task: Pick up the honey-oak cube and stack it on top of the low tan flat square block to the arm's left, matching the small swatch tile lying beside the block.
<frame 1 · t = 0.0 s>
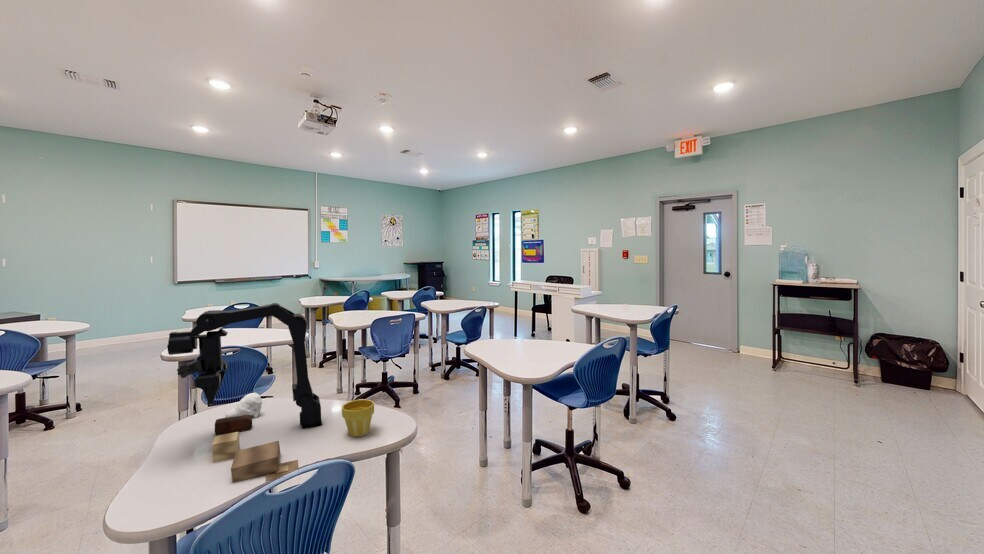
hand: (213, 398, 128), 15 cm above the table, tool pointing down, fingers open, 9 cm apart
oak cube: (227, 457, 121), on the table
brick: (234, 431, 137), on the table
plant pot: (358, 432, 136), on the table
white lumpy chunk: (243, 419, 147), on the table
tan flat square block: (258, 467, 114), point 1 cm above the table, touching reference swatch
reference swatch: (282, 471, 112), on the table
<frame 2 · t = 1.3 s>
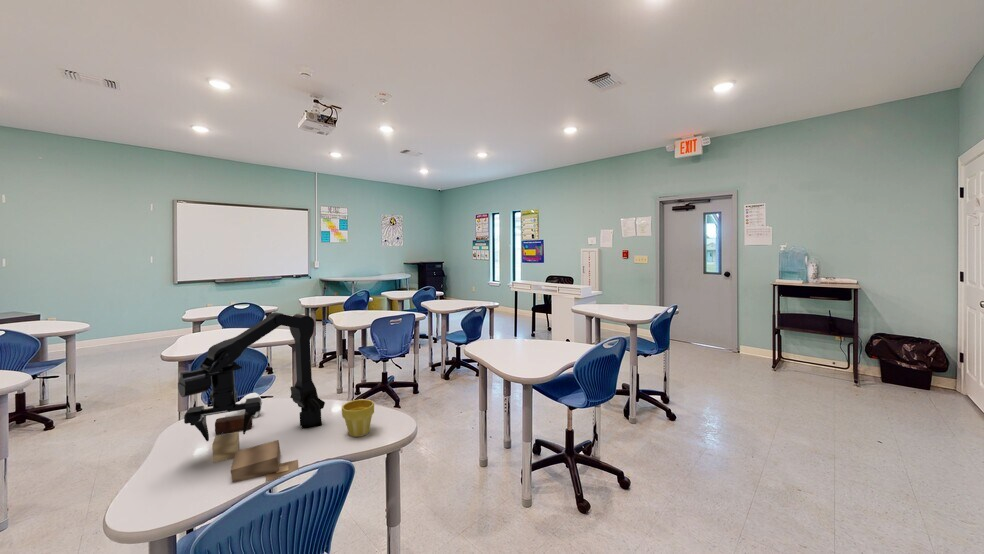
hand: (226, 437, 120), 6 cm above the table, tool pointing down, fingers open, 9 cm apart
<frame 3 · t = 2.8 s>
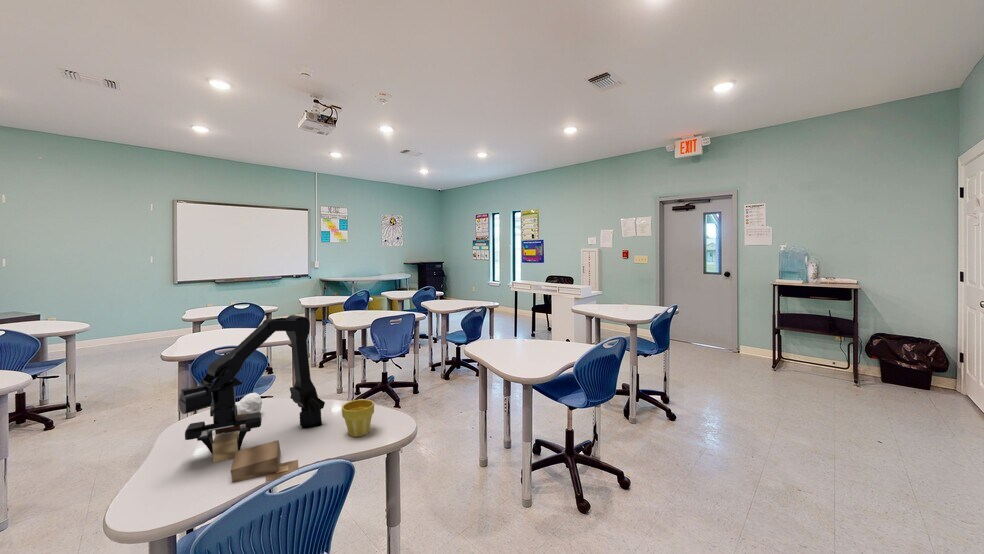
hand: (226, 452, 120), 1 cm above the table, tool pointing down, fingers closed on oak cube, 6 cm apart
oak cube: (227, 456, 120), on the table, touching gripper
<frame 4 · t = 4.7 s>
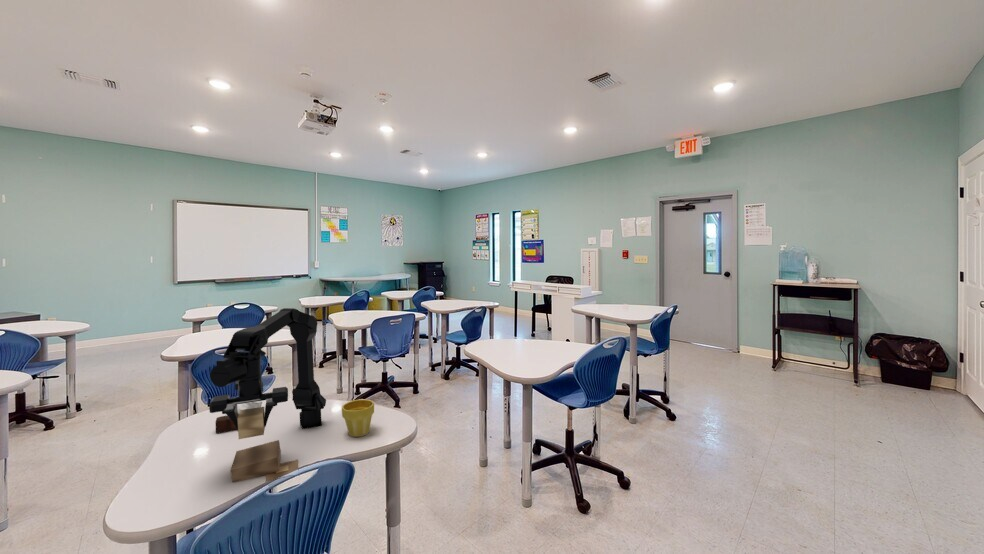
hand: (252, 428, 114), 12 cm above the table, tool pointing down, fingers closed on oak cube, 6 cm apart
oak cube: (252, 432, 114), point 10 cm above the table, touching gripper
when the fingers open (6 cm above the table, at t = 6.7 s): oak cube stays where it is, resting on tan flat square block.
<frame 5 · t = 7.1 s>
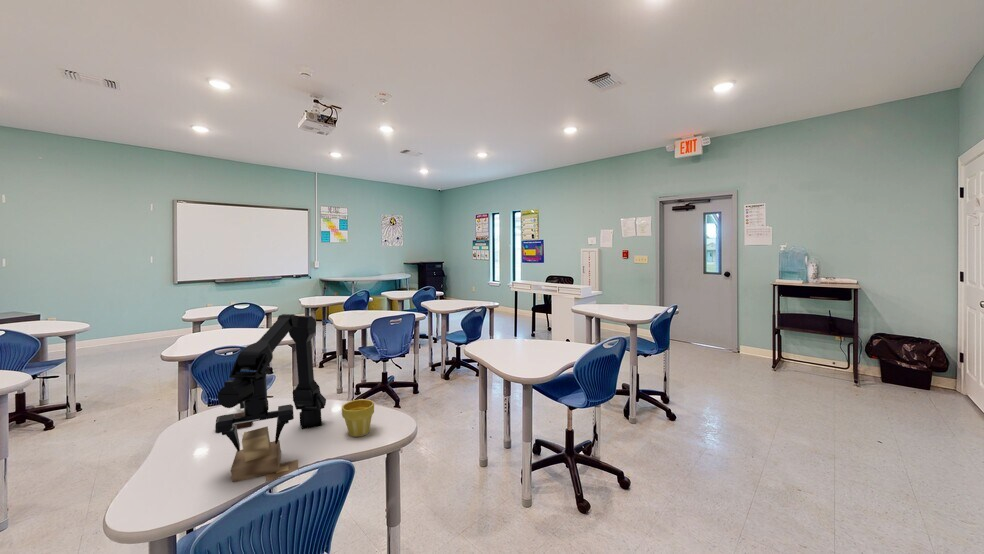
hand: (257, 447, 113), 6 cm above the table, tool pointing down, fingers open, 9 cm apart
oak cube: (258, 453, 114), point 4 cm above the table, tilted 5°, touching tan flat square block
tan flat square block: (258, 467, 114), on the table, tilted 5°, touching oak cube, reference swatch
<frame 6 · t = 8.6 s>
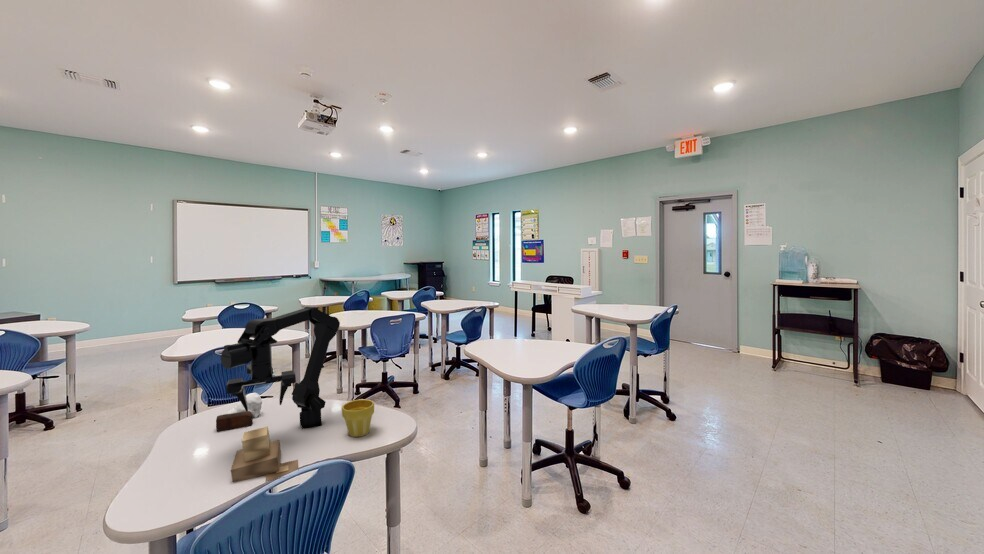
hand: (264, 407, 127), 12 cm above the table, tool pointing down, fingers open, 9 cm apart
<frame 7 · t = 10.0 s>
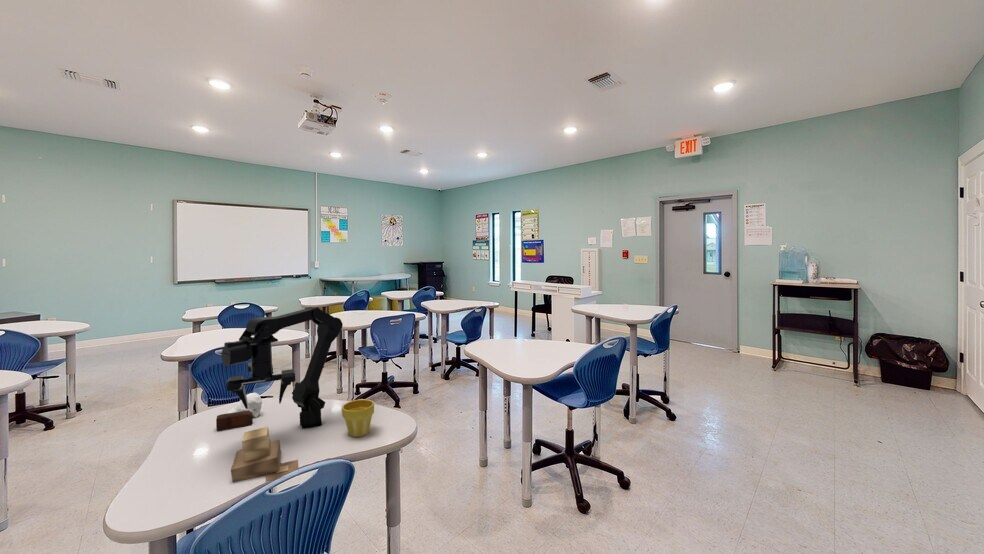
hand: (263, 405, 128), 13 cm above the table, tool pointing down, fingers open, 9 cm apart
at the end: oak cube inside the target area on the tan flat square block (0.1 cm from its centre), point 4.0 cm above the tan flat square block's base; oak cube touching tan flat square block; the gripper is holding nothing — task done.
